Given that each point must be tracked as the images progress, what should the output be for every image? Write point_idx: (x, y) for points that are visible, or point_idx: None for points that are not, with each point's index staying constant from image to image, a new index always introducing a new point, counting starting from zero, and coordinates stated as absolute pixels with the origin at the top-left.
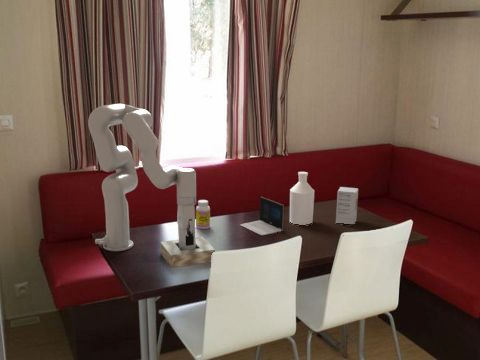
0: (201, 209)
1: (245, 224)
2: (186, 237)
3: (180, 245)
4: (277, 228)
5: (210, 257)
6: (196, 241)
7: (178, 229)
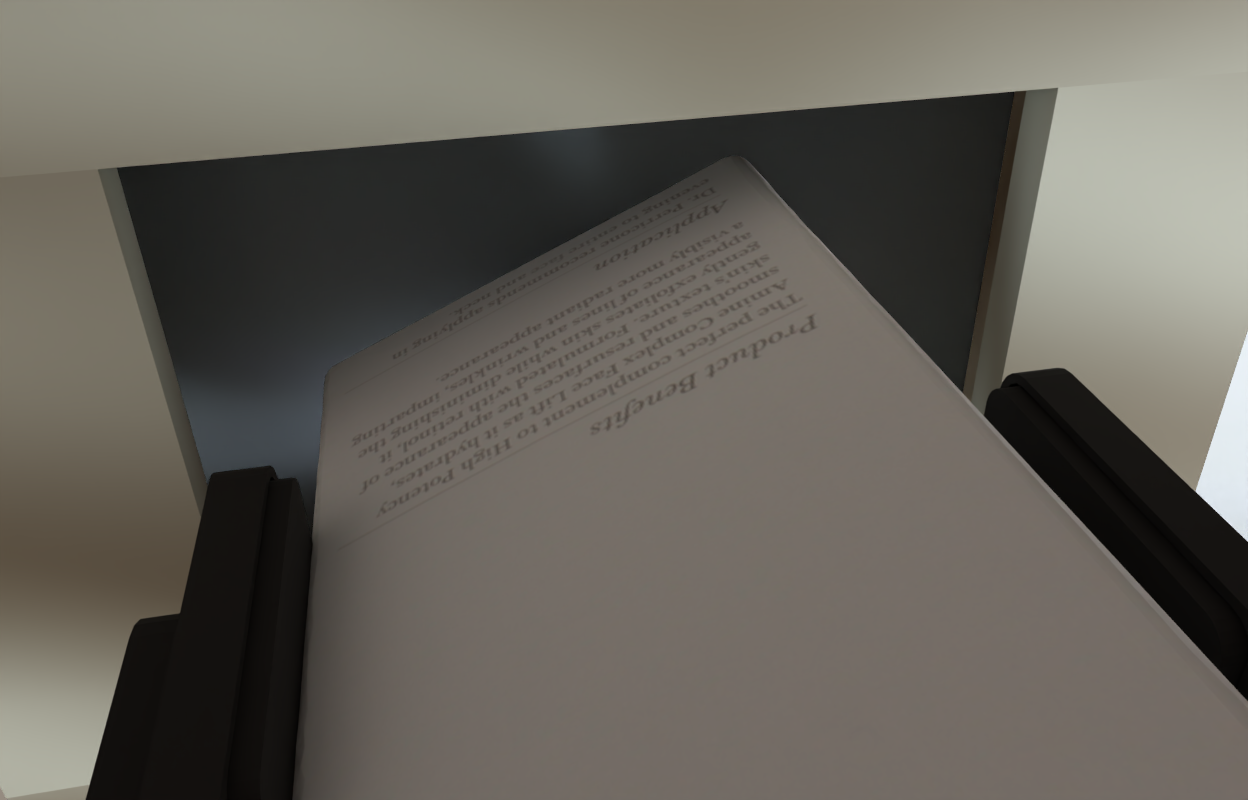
0: None
1: None
2: (154, 787)
3: (698, 252)
4: None
5: None
6: None
7: (1156, 658)
